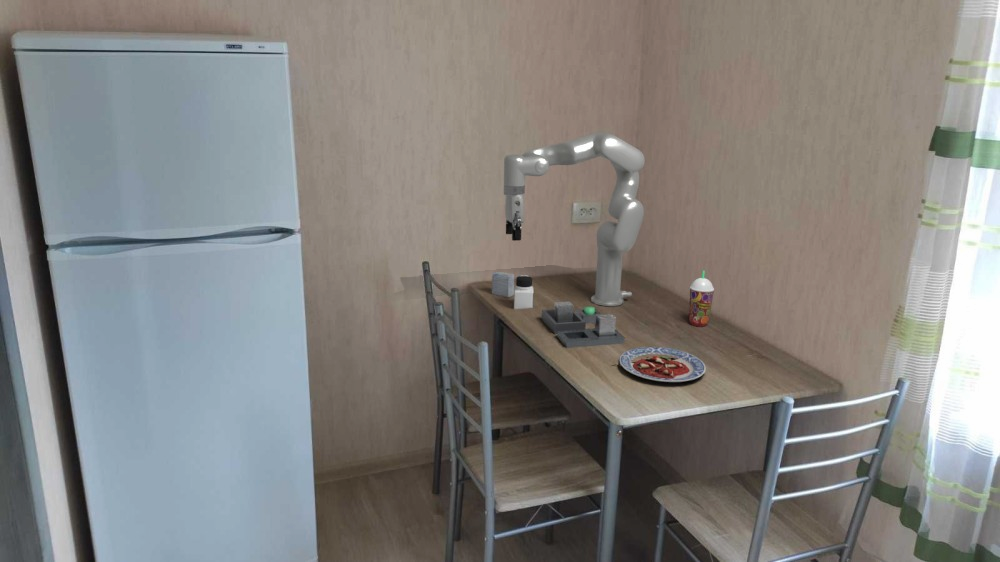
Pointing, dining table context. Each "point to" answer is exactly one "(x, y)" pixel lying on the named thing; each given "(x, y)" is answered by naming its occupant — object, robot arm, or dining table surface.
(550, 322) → the tote
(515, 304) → the medicine bottle
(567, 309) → the billet
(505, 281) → the medicine box
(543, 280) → the dining table surface
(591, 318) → the button housing
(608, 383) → the dining table surface
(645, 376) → the ceramic plate
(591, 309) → the button
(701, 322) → the smoothie
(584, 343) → the pallet
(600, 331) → the billet
